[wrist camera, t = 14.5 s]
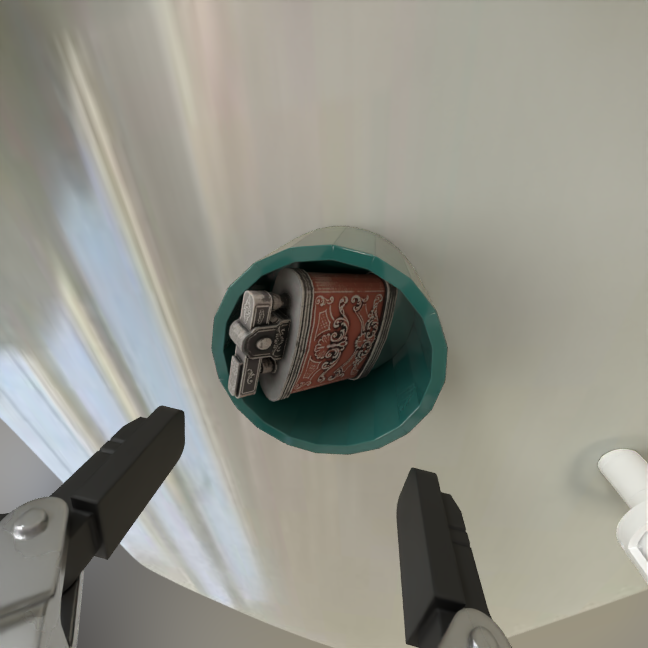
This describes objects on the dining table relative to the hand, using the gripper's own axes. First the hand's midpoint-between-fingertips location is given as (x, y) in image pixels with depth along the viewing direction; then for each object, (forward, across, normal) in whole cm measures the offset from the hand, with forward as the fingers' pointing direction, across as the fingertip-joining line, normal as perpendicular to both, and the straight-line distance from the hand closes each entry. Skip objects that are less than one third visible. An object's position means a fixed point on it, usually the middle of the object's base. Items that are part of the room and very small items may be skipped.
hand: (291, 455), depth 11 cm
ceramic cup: (+15, 0, 0) cm, 15 cm away
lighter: (+13, -3, 0) cm, 13 cm away
